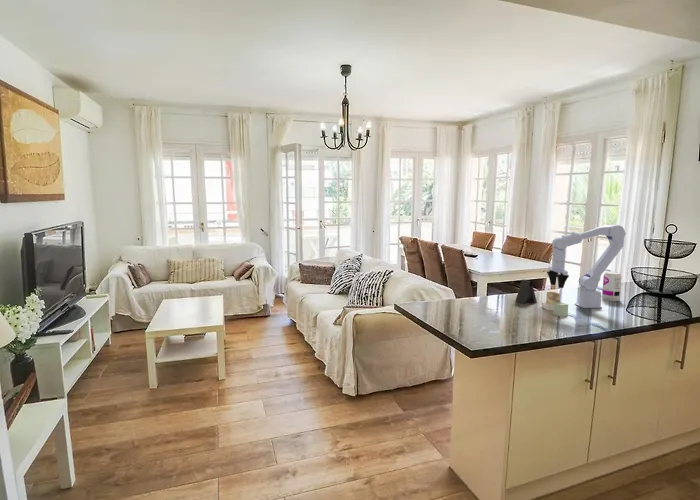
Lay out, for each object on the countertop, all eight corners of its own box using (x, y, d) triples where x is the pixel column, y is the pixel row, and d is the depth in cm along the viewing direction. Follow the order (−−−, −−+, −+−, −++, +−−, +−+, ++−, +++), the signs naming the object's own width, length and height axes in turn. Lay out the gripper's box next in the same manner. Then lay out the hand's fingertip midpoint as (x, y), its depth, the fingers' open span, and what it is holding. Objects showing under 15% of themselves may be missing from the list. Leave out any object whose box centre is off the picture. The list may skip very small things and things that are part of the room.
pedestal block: (555, 307, 202) (555, 302, 202) (562, 311, 195) (562, 305, 195) (541, 307, 202) (541, 301, 202) (547, 311, 195) (548, 305, 195)
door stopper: (528, 300, 216) (529, 278, 214) (536, 302, 210) (538, 280, 209) (515, 301, 213) (516, 279, 211) (523, 304, 207) (524, 282, 206)
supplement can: (604, 300, 213) (606, 273, 211) (599, 297, 221) (601, 271, 219) (621, 302, 211) (624, 274, 209) (616, 298, 219) (618, 272, 217)
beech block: (554, 302, 201) (555, 291, 200) (559, 304, 196) (560, 293, 196) (546, 302, 201) (546, 292, 200) (550, 304, 196) (551, 294, 196)
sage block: (560, 313, 191) (560, 302, 190) (567, 315, 186) (568, 304, 186) (552, 313, 189) (553, 302, 189) (560, 316, 185) (560, 305, 184)
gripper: (543, 258, 210) (542, 283, 212) (558, 262, 196) (557, 289, 197) (556, 258, 210) (554, 283, 212) (572, 262, 196) (570, 289, 198)
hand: (556, 286), depth 205 cm, fingers open, 7 cm apart
